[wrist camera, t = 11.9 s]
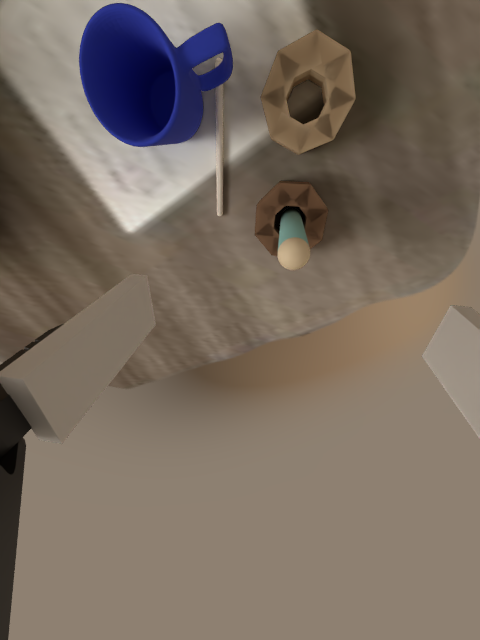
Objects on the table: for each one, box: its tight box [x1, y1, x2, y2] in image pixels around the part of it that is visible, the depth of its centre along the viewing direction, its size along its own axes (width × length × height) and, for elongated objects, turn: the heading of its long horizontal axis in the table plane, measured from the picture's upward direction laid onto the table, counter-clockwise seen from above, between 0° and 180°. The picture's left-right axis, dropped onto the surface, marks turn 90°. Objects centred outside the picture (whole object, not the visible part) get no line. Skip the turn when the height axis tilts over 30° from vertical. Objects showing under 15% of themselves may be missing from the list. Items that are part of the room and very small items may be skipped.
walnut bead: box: [255, 181, 328, 256], centre depth 31 cm, size 8×8×4 cm
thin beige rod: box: [215, 58, 223, 216], centre depth 29 cm, size 15×1×1 cm, turn 178°
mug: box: [79, 3, 233, 147], centre depth 23 cm, size 8×12×10 cm
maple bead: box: [261, 29, 356, 155], centre depth 25 cm, size 8×8×4 cm
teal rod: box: [278, 207, 310, 270], centre depth 25 cm, size 2×2×16 cm
